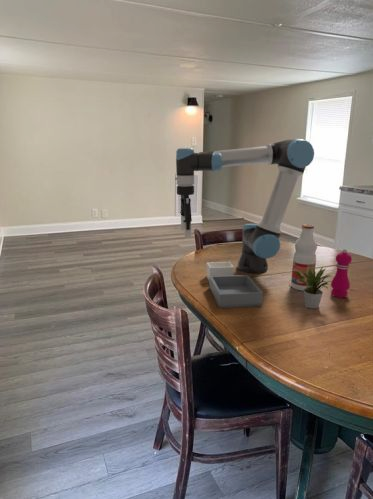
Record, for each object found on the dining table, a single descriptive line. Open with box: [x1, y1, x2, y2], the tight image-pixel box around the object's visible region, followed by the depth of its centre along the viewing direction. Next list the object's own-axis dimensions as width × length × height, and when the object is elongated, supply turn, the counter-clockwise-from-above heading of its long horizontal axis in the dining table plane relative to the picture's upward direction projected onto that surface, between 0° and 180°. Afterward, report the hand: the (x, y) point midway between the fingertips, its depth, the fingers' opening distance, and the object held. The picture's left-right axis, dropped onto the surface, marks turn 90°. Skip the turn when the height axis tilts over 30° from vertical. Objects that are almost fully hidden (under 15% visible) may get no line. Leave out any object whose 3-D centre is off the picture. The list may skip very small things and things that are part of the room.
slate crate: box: [208, 274, 264, 309], centre depth 153 cm, size 17×21×6 cm
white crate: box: [206, 261, 235, 281], centre depth 174 cm, size 11×8×7 cm
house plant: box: [298, 266, 336, 309], centre depth 142 cm, size 14×14×16 cm
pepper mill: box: [330, 248, 353, 298], centre depth 155 cm, size 7×7×20 cm
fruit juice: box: [290, 223, 318, 292], centre depth 162 cm, size 9×9×28 cm
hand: (185, 233), depth 167 cm, fingers open, 13 cm apart
